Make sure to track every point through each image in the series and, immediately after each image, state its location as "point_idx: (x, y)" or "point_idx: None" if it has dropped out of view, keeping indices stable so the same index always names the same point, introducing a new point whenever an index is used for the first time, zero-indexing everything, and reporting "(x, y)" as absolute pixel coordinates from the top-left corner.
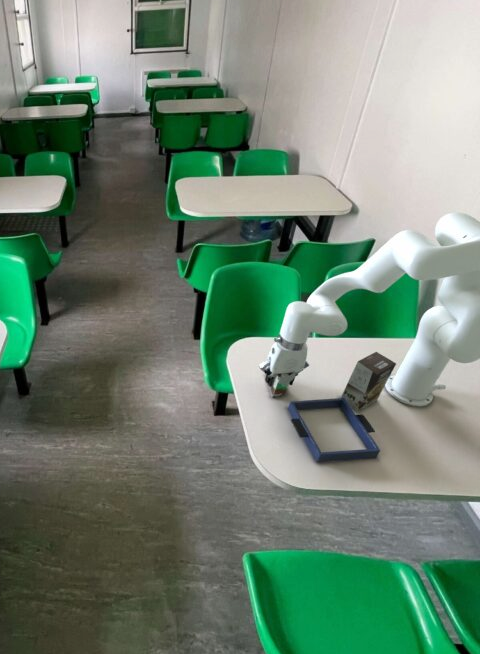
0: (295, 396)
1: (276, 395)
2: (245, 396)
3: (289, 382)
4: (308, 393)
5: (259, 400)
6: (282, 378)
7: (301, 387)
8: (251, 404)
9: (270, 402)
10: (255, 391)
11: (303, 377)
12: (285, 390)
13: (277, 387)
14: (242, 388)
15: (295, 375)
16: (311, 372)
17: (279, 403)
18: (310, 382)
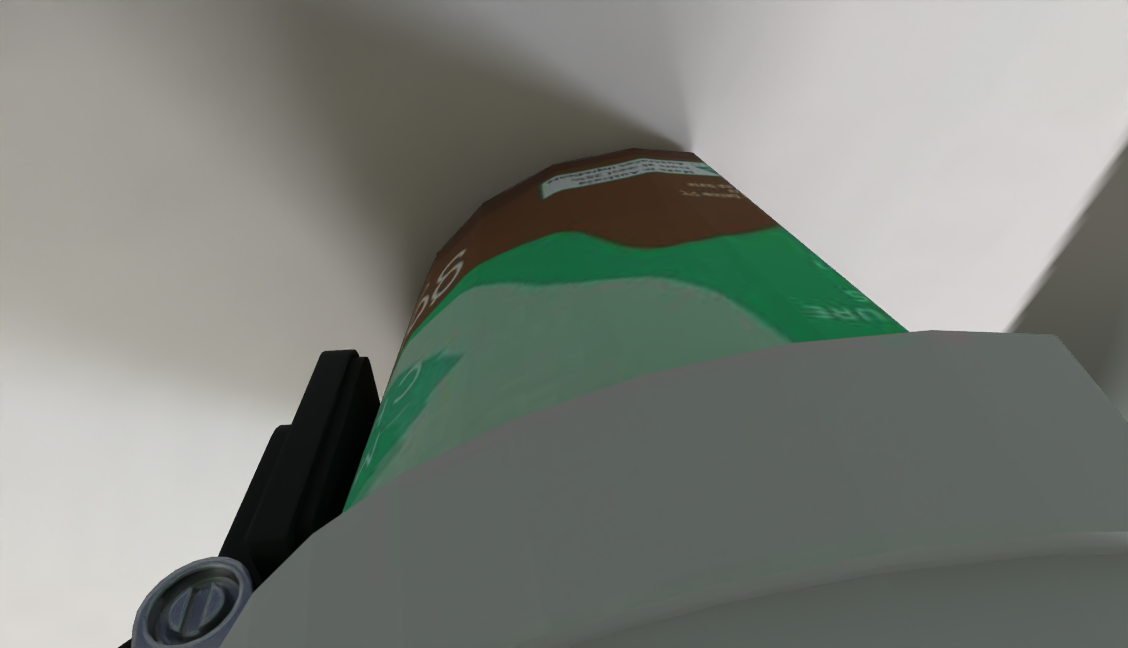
0: (290, 158)
1: (651, 164)
2: (1069, 194)
3: (415, 393)
4: (50, 212)
5: (927, 102)
6: (1057, 602)
7: (163, 327)
8: (1119, 17)
9: (776, 44)
10: (866, 277)
11: (120, 471)
12: (476, 246)
13: (786, 258)
14: (996, 328)
15: (223, 573)
16: (9, 531)
17: (630, 7)
18: (19, 403)
